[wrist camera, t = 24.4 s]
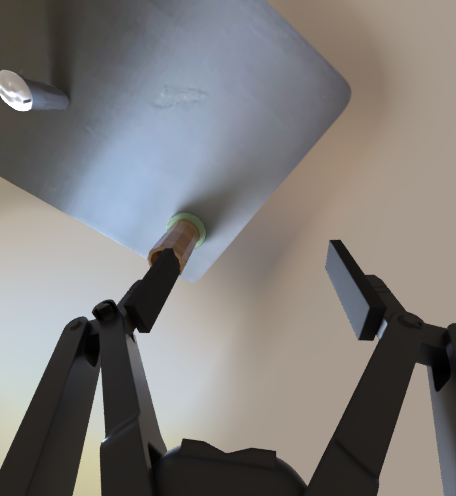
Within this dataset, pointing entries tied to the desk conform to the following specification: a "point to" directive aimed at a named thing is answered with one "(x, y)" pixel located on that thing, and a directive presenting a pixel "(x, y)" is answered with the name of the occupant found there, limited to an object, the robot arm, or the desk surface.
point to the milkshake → (31, 93)
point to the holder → (194, 220)
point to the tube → (177, 242)
